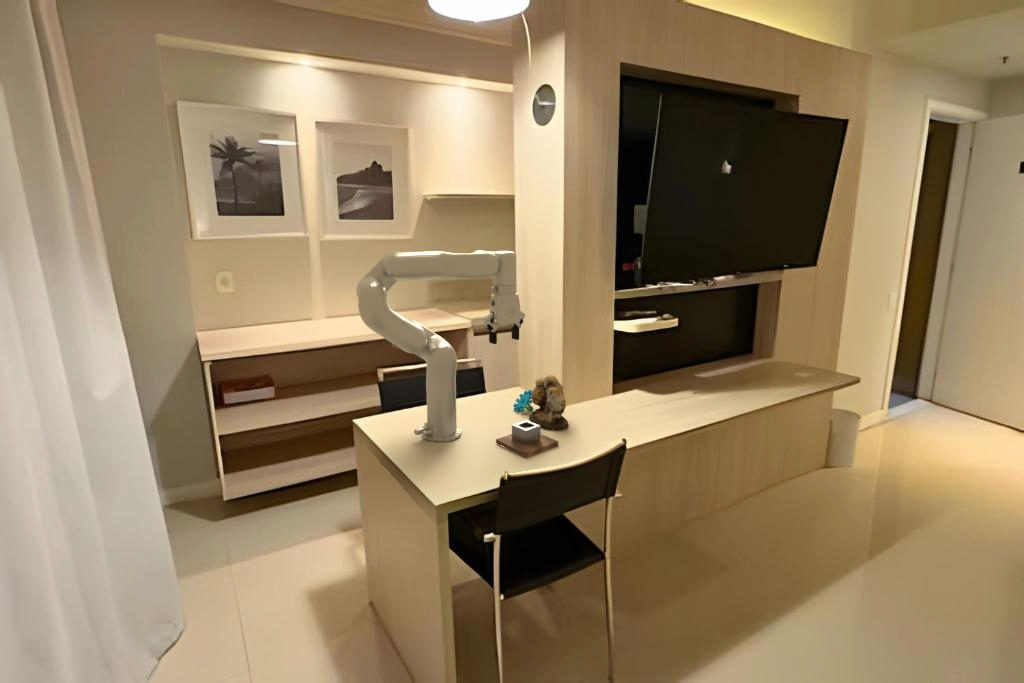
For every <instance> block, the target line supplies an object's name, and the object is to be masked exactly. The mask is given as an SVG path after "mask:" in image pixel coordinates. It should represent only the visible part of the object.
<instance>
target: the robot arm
mask: <svg viewBox="0 0 1024 683" xmlns="http://www.w3.org/2000/svg"><path fill="white" fill-rule="evenodd" d="M489 277H492V287H491V288H490V292H492V294H491V297H490V304H489V314H487V315H486V316H485V317H483V318H482V323H483V325H484V328H486V330H487V331H488V340H489V341H488V342H489V344H492V345H497V343H498V342H497V341H498V332H497V329H498V327H505V326H511V325H512V326H511V339H512V340H516V341H519V340H520V329H521V328H522V324H523V323H524V319H525V317H526V314H525V313H524V312H523V311H521V303H520V302H521V301H520V298H519V293H517V254H516V253H515V252H514V251H513V250H512V251H510V250H498V251H488V250H487V251H486V250H475V251H473V252H471V253H469V252H468V253H461V252H459V253H458V252H457V253H456V252H455V253H454V252H447V251H443V250H431V251H429V250H427V251H404V252H403V251H398V250H393V251H388V253H386V254H385V255H384V256H383V257H382V258H381V259H380V260H379V261H378V262H377V263H376V264H375V265H374V266H373V267H372V268H371V269H370V270H369V271H368V272H367V273H366V274H365V275H364V276H363V277H362V278H361V279H360V280H359V282H358V283H357V285H356V290H355V291H356V296H357V302H358V304H357V305H358V306H357V307H358V312H359V316H360V318H361V320H362V322H363V323H364V324H365V326H366V327H368V329H370V330H372V332H374V333H376V334H377V335H379V336H380V337H382V338H384V339H385V340H386V341H388V342H390V343H392V344H393V345H395V346H396V347H398V348H399V349H401V350H402V351H404V352H406V353H408V354H414V355H416V356H418V357H419V358H421V359H423V361H425V364H426V375H425V376H426V377H425V389H426V418H427V419H426V422H424V425H423V426H422V427H419V428H416V429H414V430H413V433H414V435H415V436H419V435H422V437H423V438H424V439H426V440H427V441H429V442H430V441H431V442H435V441H437V443H440V442H441V443H442V441H446V442H450V441H449V440H451V441H454V440H453V439H455V440H457V439H458V438H460V437H461V436H462V429H461V428H460V427H458V426H457V384H456V382H457V379H456V378H457V377H456V376H457V367H458V366H457V365H458V357H457V353H456V350H455V349H454V347H453V346H452V345H451V344H450V343H449V342H448V341H447V340H446V339H445V338H444V337H442V336H440V335H438V334H437V333H435V332H434V331H432V330H431V329H429V328H427V327H426V326H425V325H423V324H421V323H420V322H418V321H416V320H414V319H411V318H410V319H409V318H405V317H403V316H401V315H400V314H399V313H398V312H396V311H395V310H392V309H391V308H390V307H389V306H388V303H387V299H388V292H389V291H390V290H391V289H392V288H393V286H394V285H395V284H397V283H398V282H399V281H401V282H402V281H417V280H418V281H420V280H436V279H437V280H440V279H441V280H449V279H450V280H451V279H452V280H453V279H477V278H478V279H479V278H480V279H482V278H489ZM460 435H461V436H460ZM459 436H460V437H459ZM456 438H457V439H456Z"/></svg>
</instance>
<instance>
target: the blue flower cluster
mask: <svg viewBox="0 0 1024 683" xmlns="http://www.w3.org/2000/svg"><path fill="white" fill-rule="evenodd" d="M532 391H533V390H531V389H529V390H524V392H523V394H522V393H521V394H519V396H518V397H519V398H516V399H515V402H514V404H513V405H512V406H513V411H514V412H516V413H520V412H524V411H525V410H527V412H531V413H533V412H534V411H535V410H534V407H533V406H532V405H531V404H533V401H532V399H531V398H530V397H531V396H532Z"/></svg>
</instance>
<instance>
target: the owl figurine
mask: <svg viewBox="0 0 1024 683" xmlns="http://www.w3.org/2000/svg"><path fill="white" fill-rule="evenodd" d="M531 391H532V396H531V397H530V398H531V399H530V400H532V401H533V402H532V404H534V405H535V406H537V407H539V408H536V409H535V410H533V411H534V412H533V413H532V412H531V413H530V414H529V417H528V421H530V422H533V423H535V424H538V425H540V426H541V429H543V430H547V431H563V430H566V429H567V428H568V427H569V422H568V420H567V419H566V418H565V417H564V416H563V414H564V412H565V409H566V407H567V404H566V401H567V399H566V397H565V394H564V393H565V392H564V386H563V384H561V383H560V381H559V379H558V378H557V377H556V376H555V375H553V374H549V375H546V376H545V377H539V378H537V379H535V387H534V388H533V390H531Z"/></svg>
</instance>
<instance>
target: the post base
mask: <svg viewBox="0 0 1024 683" xmlns="http://www.w3.org/2000/svg"><path fill="white" fill-rule="evenodd" d="M524 428H525V429H527V428H530V427H524ZM496 443H497V444H496ZM495 444H496V445H498V444H499V445H498V446H500V445H502V446H504V447H505V448H504V447H503V448H504V449H506V448H507V449H506V450H508V449H509V451H510V450H511V451H510V452H512V451H513V452H512V453H514V452H515V453H514V454H516V453H517V455H518V454H519V456H520V455H521V457H522V456H523V457H522V458H525V459H527V458H530V457H532V456H536V455H538V454H540V453H543V452H545V451H548V450H551V449H553V448H556V447H559V440H557V439H554V438H552V437H549V436H547V435H545V434H542V433H540V441H538V442H535V443H532V444H530V445H527V446H525V445H522V444H520V443H518V442H516V441H514V440H512V433H511V434H507V435H505V436H502V437H498V438H496V439H495ZM502 446H501V447H502Z"/></svg>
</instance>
